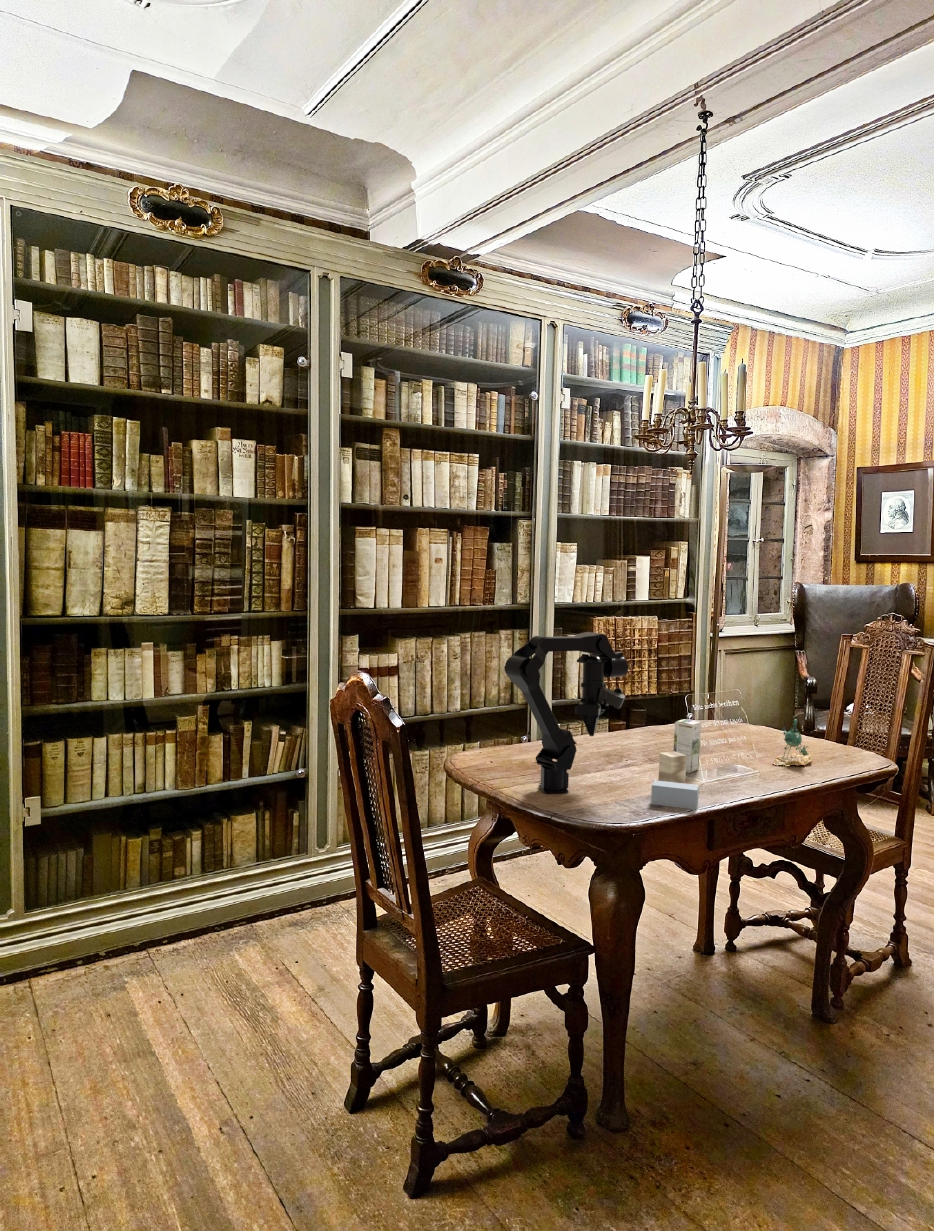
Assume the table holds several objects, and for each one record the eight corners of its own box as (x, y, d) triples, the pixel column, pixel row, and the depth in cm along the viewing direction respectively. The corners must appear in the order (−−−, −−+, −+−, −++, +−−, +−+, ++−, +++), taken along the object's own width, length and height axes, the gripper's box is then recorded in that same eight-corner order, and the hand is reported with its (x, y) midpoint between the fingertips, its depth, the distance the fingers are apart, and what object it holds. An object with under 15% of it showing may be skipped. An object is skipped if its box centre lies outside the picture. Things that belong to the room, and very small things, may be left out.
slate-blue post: (651, 785, 203) (697, 790, 199) (654, 780, 208) (698, 785, 204) (651, 804, 203) (696, 810, 199) (653, 799, 208) (698, 804, 204)
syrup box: (680, 766, 241) (682, 718, 240) (699, 770, 237) (701, 721, 236) (672, 770, 237) (674, 721, 236) (691, 773, 233) (693, 723, 232)
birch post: (670, 790, 216) (671, 757, 215) (658, 785, 220) (659, 752, 219) (685, 788, 218) (686, 755, 217) (672, 783, 222) (673, 751, 222)
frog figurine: (828, 764, 248) (827, 717, 246) (785, 776, 240) (784, 728, 238) (803, 756, 256) (802, 711, 255) (761, 768, 249) (759, 721, 247)
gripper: (618, 685, 207) (616, 746, 208) (628, 676, 225) (626, 731, 226) (575, 683, 211) (573, 742, 212) (588, 673, 229) (586, 728, 230)
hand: (591, 736), depth 220 cm, fingers closed
